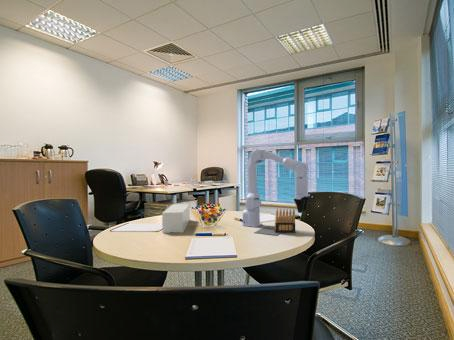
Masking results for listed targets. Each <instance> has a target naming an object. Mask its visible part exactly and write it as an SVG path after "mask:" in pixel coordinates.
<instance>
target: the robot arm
mask: <svg viewBox="0 0 454 340" xmlns="http://www.w3.org/2000/svg"><path fill="white" fill-rule="evenodd" d="M265 160H273V161H275V162H278V163H280V164H282V166H283V167H284V168H286V169H289V170H291V171H293V172H295V173H296V178H295V179H296V184H295V185H296V190H295V191H296V194H295V196H296V198H293V201H294V203H295V206H296V208H297V212H298V213H299V214H303V212H304V211H305V212H306V211H307V209H308V208H307V207H308V203H309V200H310V196H311V194H310V193H308V189H309V186H308V185H309V184H308V183H309V181H308V178H309V177H308V171H309V165H307V164H306V163H305V162H302V161H301V160H296V159H294V158H293V157H291V156H287V157H283V156H280V155H278V154H276V153H273V152H272V151H268V150H264V149H259V148H258V149H257V148H256V149H254V150H252V151H251V152H250V153H249V157H248V160H247V161H246V168H247V169H246V170H247V171H246V172H247V173H246V174H247V187H248V188H247V192H248V193H247V195H246V199H245V203H244V206H245V208H246V209H243V210H242V227H243V226H244V227H252V228H253V227H254V228H258V227H260V226H262V225H263V223H261V222H260V221H261V218H260V215H261V214H260V212H261V210H260V207H261V205H262V201H261V199H260V195H259V193H258V177H257V176H258V175H257V166H258V165H259V164H260V163H261V162H265Z"/></svg>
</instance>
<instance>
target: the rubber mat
mask: <svg viewBox="0 0 454 340" xmlns="http://www.w3.org/2000/svg"><path fill="white" fill-rule="evenodd" d="M274 228H275V226H267V225H265V226H263V227H262V228H260V229H258V230H256V231H255V232H254V234H260V235H268V236H275V237H277V236H279V235H280V234H281V233H276V232H274Z"/></svg>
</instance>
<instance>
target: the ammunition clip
mask: <svg viewBox="0 0 454 340" xmlns="http://www.w3.org/2000/svg"><path fill="white" fill-rule="evenodd" d="M295 211H296V210H295V209H294V208H293V209H291V208H290V209H288V208H287V209H286V210H285V208H283V209H282V208H280V209H279V210H278V208H277V209H276V211H275V216H274V218H275V219H274V227H275V228H274V232H276V233H280V234H282V233H288V234H289V233H294V234H295V233H296V212H295Z"/></svg>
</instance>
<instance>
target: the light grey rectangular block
mask: <svg viewBox="0 0 454 340" xmlns="http://www.w3.org/2000/svg"><path fill="white" fill-rule="evenodd" d="M161 213H162V215H161V216H162V217H161V220H162V221H161V223H162V226H161V227H162V233H163V234H164V233H165V234H166V233H167V234H169V233H170V232H181V233H184V231H185V229H186V228H187V226H188V225H189V222H190V221H191V204H190V203H173V204H171V205H170V206H169V207H168V208H166V209H165V210H164V211H162V212H161Z"/></svg>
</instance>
